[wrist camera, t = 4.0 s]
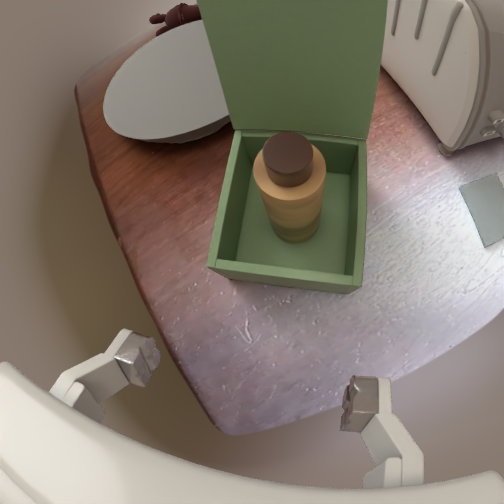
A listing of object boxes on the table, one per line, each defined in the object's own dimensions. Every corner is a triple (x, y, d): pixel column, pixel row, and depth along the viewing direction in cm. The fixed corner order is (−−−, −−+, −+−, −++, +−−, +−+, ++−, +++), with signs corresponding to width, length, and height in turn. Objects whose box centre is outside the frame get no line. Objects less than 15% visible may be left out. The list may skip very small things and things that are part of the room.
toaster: (449, 186, 28) (548, 59, 6) (301, 6, 40) (289, -83, 18) (529, 155, 26) (598, 75, 4) (386, -1, 38) (391, -77, 17)
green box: (348, 294, 27) (361, 286, 21) (227, 278, 30) (205, 267, 24) (356, 173, 30) (366, 139, 24) (248, 163, 33) (235, 129, 26)
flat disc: (326, 90, 34) (326, 67, 29) (144, 196, 34) (126, 181, 30) (232, 20, 42) (226, 3, 37) (105, 92, 42) (93, 78, 38)
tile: (518, 228, 25) (521, 227, 24) (484, 247, 25) (487, 246, 25) (494, 174, 27) (496, 173, 26) (458, 187, 27) (460, 185, 27)
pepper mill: (326, 234, 28) (341, 172, 16) (280, 250, 29) (261, 198, 16) (309, 192, 30) (309, 112, 17) (265, 207, 30) (238, 134, 18)
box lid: (388, -8, 10) (376, -20, 12) (193, -8, 13) (214, -21, 14) (367, 139, 23) (363, 108, 25) (233, 129, 26) (243, 100, 27)
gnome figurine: (220, -10, 37) (154, 11, 41) (210, -4, 33) (139, 21, 37) (229, 17, 43) (165, 35, 47) (221, 26, 39) (151, 47, 43)
